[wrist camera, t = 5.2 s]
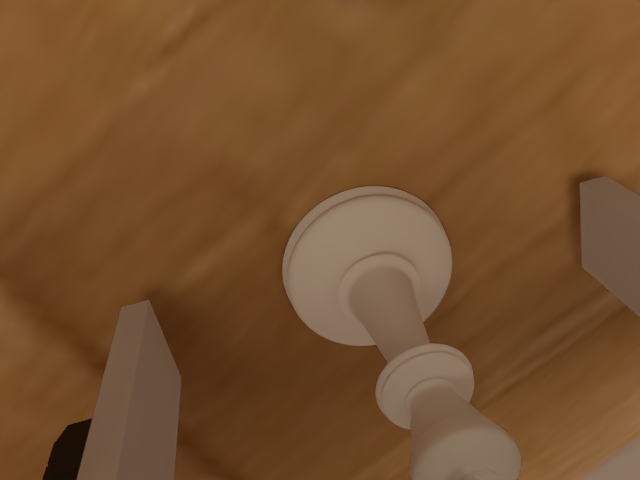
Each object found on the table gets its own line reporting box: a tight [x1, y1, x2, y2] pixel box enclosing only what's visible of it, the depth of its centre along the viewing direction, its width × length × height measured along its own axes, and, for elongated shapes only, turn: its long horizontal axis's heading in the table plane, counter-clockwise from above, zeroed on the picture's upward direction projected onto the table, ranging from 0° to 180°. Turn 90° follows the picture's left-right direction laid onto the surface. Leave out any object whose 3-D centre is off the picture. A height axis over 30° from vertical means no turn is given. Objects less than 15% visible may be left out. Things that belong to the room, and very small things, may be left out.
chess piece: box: [282, 186, 521, 480], centre depth 13 cm, size 5×5×10 cm
